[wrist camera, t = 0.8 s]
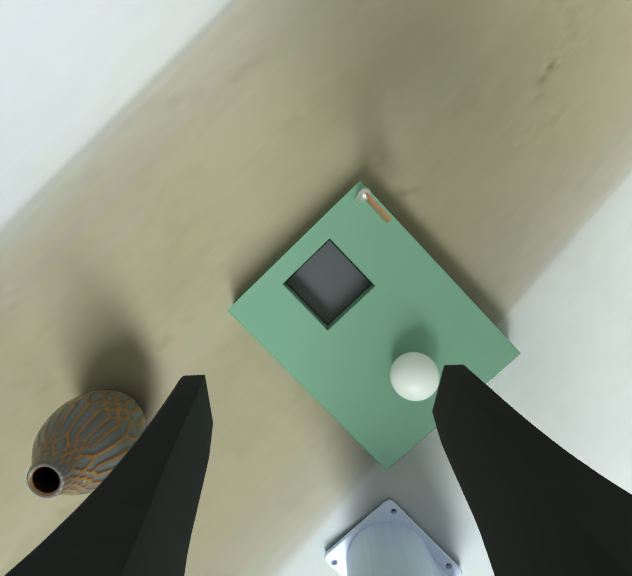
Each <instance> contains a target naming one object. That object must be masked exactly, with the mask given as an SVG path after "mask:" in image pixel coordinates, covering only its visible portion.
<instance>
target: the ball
mask: <svg viewBox="0 0 632 576" xmlns="http://www.w3.org/2000/svg"><path fill="white" fill-rule="evenodd" d="M390 380H391V384H392V386H393V388H394V389H395V391H396V392H397V393H398V394H399V395H400V396H402V397H403V398H405V399H407V400H411V401H421V400H425V399H427V398H429V397H430V396H431V395H432V394H433V393H434V392H435V391H436V389H437V387H438V385H439V371H438V368H437V366H436V364H435V363H434V362H433V360H432V359H431V358H429V357H428V356H427V355H425V354H422V353H419V352H408V353H405V354H402V355H401V356H399V357H398V358H397V359H396V360H395V361H394V363H393V364H392V367H391V370H390Z"/></svg>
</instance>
